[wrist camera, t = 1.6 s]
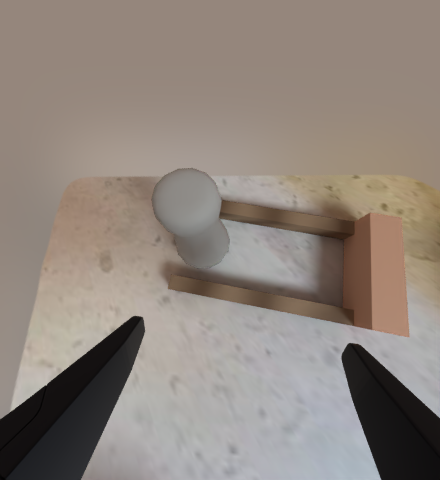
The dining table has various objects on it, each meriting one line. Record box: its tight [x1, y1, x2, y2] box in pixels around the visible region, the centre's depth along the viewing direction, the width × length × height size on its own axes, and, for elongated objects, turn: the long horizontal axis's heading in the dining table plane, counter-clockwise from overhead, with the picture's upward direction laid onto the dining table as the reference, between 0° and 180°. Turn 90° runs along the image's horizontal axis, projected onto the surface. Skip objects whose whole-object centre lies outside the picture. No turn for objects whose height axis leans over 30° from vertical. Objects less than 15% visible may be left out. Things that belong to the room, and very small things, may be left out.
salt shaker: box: [152, 168, 230, 268], centre depth 18 cm, size 6×6×13 cm
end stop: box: [343, 213, 409, 337], centre depth 21 cm, size 3×11×4 cm, turn 169°
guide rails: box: [168, 200, 355, 326], centre depth 23 cm, size 19×11×2 cm, turn 79°
